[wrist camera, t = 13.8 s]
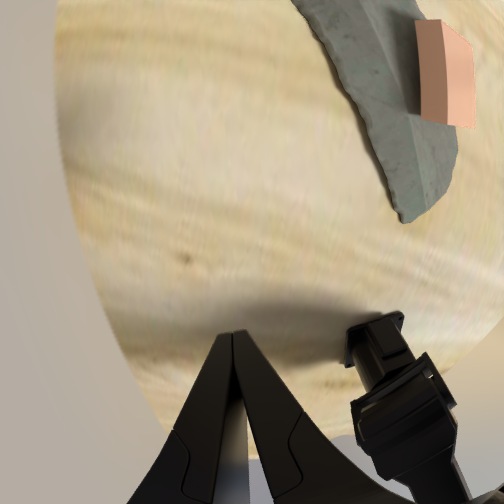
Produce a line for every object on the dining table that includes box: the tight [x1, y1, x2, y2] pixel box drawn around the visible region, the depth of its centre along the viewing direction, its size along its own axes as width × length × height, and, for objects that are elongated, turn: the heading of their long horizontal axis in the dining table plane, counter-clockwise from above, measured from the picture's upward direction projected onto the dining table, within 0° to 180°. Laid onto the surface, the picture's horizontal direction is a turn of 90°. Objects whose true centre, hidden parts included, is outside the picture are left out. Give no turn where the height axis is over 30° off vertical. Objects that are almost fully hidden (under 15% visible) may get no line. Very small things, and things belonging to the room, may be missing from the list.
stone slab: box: [291, 0, 458, 224], centre depth 15 cm, size 22×3×10 cm
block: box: [415, 20, 476, 129], centre depth 13 cm, size 2×7×6 cm
